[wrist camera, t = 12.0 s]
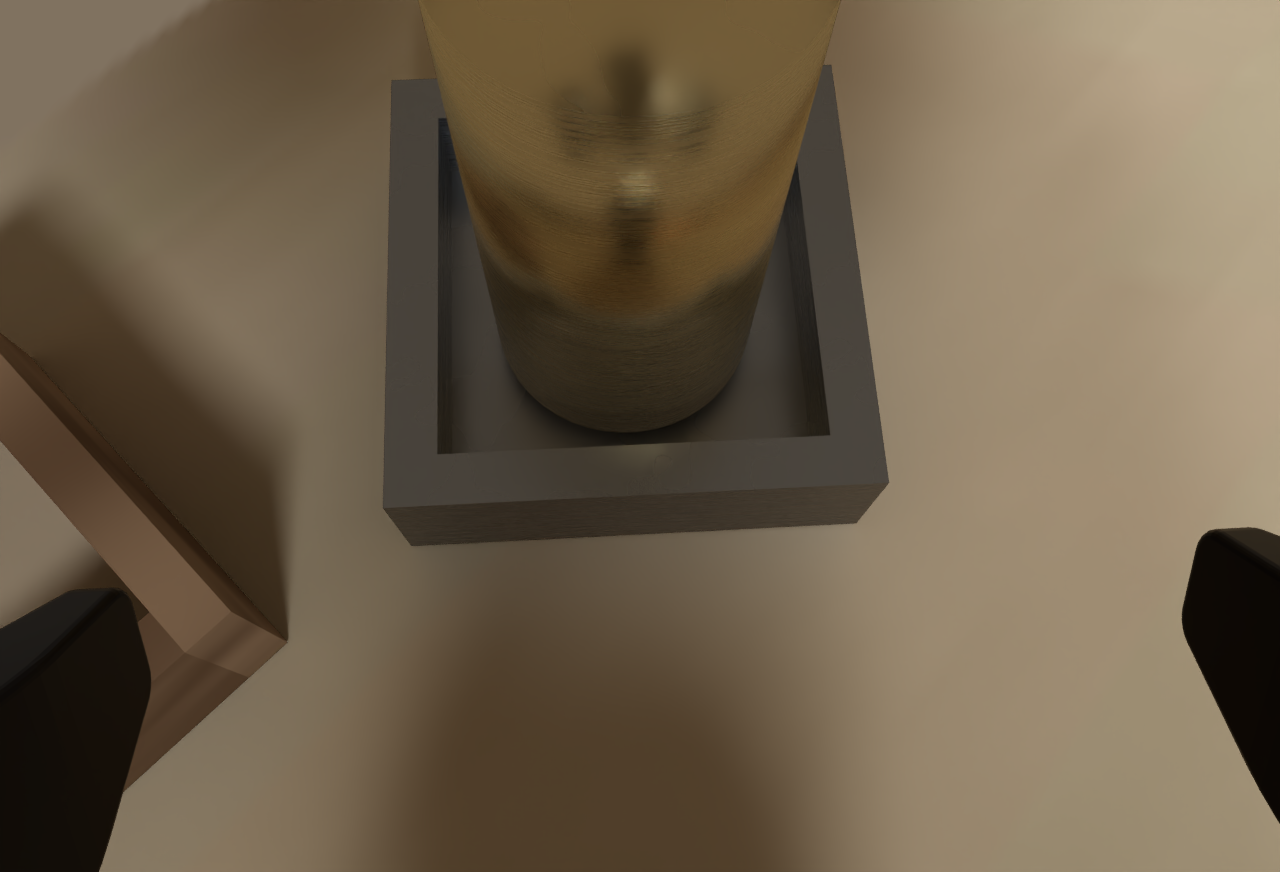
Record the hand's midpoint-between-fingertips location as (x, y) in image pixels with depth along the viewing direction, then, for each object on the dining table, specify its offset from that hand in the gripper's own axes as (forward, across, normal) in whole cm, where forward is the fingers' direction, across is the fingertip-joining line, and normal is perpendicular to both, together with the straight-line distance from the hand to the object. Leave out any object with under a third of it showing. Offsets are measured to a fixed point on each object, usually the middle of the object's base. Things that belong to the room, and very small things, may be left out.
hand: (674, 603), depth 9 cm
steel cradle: (+16, 0, +3) cm, 16 cm away
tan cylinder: (+15, 0, +3) cm, 15 cm away
